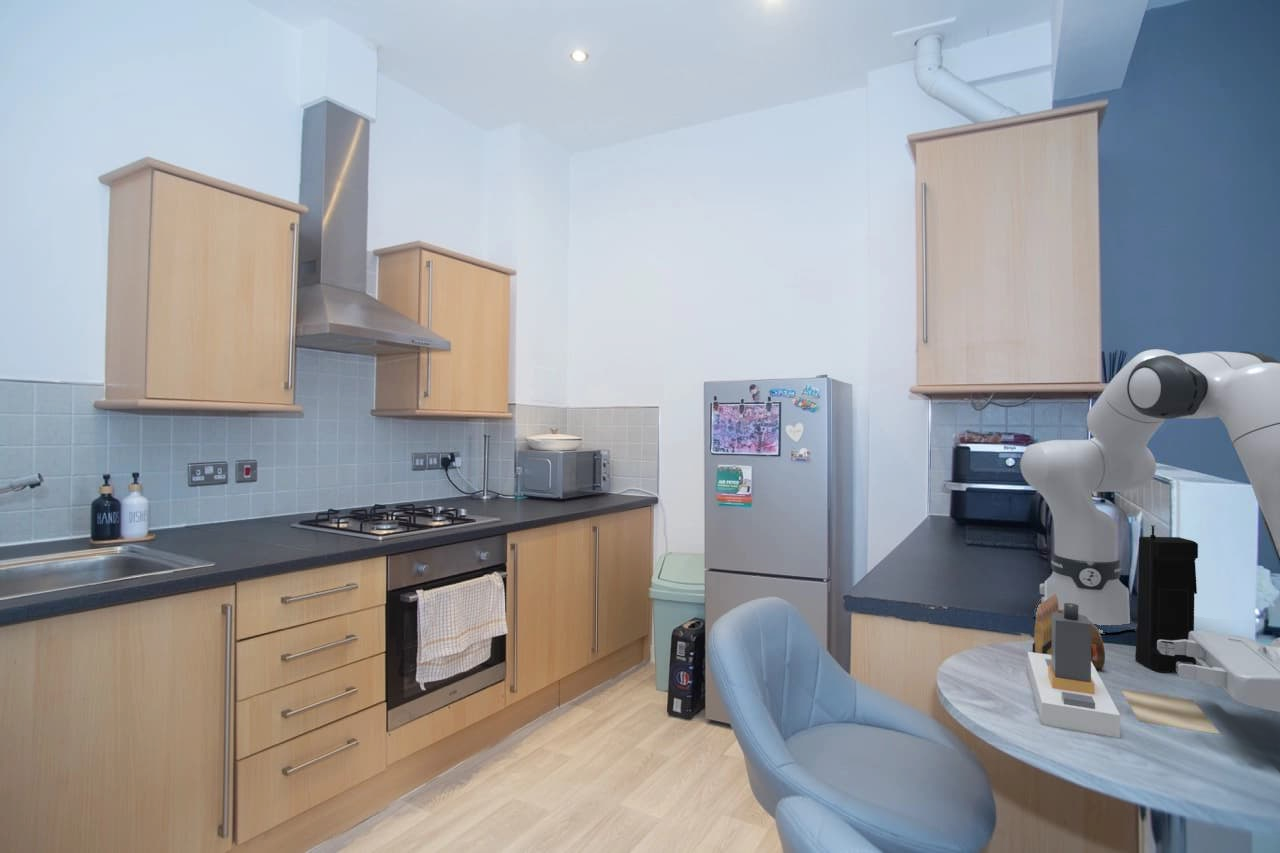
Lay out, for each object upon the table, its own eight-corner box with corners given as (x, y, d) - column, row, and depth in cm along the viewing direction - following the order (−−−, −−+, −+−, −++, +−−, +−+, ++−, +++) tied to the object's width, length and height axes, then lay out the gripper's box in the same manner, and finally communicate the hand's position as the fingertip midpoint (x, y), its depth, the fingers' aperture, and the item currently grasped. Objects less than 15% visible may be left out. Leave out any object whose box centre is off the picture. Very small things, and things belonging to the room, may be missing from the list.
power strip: (1027, 674, 112) (1027, 646, 112) (1090, 684, 108) (1090, 655, 108) (1041, 730, 92) (1042, 696, 92) (1119, 744, 88) (1120, 709, 88)
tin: (1106, 679, 110) (1107, 629, 110) (1085, 677, 111) (1086, 628, 111) (1067, 647, 125) (1068, 603, 125) (1049, 646, 126) (1049, 602, 126)
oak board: (1120, 695, 104) (1120, 689, 104) (1192, 706, 100) (1192, 699, 100) (1139, 727, 93) (1139, 720, 93) (1221, 741, 89) (1221, 734, 89)
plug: (1047, 694, 102) (1048, 598, 102) (1087, 700, 100) (1088, 602, 99) (1051, 708, 97) (1052, 607, 97) (1094, 715, 95) (1095, 611, 95)
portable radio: (1178, 661, 118) (1180, 522, 118) (1204, 674, 112) (1206, 528, 112) (1132, 659, 119) (1133, 521, 119) (1154, 672, 113) (1156, 527, 113)
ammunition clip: (1044, 676, 111) (1044, 606, 111) (1031, 673, 113) (1032, 603, 113) (1061, 660, 119) (1062, 594, 119) (1049, 657, 120) (1050, 592, 120)
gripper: (1265, 627, 96) (1148, 614, 102) (1337, 677, 78) (1190, 659, 84) (1264, 669, 97) (1148, 654, 103) (1336, 730, 78) (1189, 707, 84)
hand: (1167, 657), depth 93 cm, fingers open, 8 cm apart
